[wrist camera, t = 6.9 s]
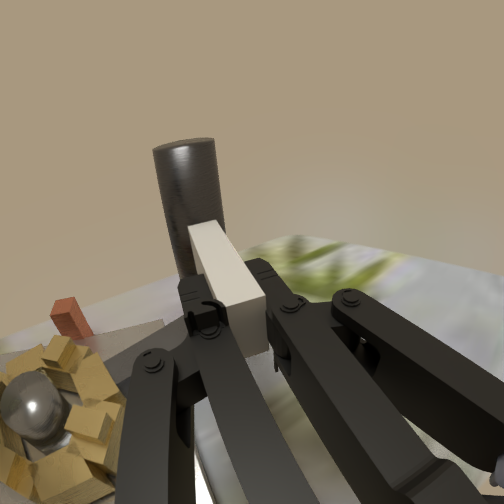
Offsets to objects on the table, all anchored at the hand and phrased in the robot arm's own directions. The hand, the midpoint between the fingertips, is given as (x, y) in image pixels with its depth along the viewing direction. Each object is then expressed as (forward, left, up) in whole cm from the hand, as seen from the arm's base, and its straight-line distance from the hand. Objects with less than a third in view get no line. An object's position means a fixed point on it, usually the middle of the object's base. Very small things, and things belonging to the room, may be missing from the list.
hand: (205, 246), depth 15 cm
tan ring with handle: (-8, -2, -8) cm, 12 cm away
